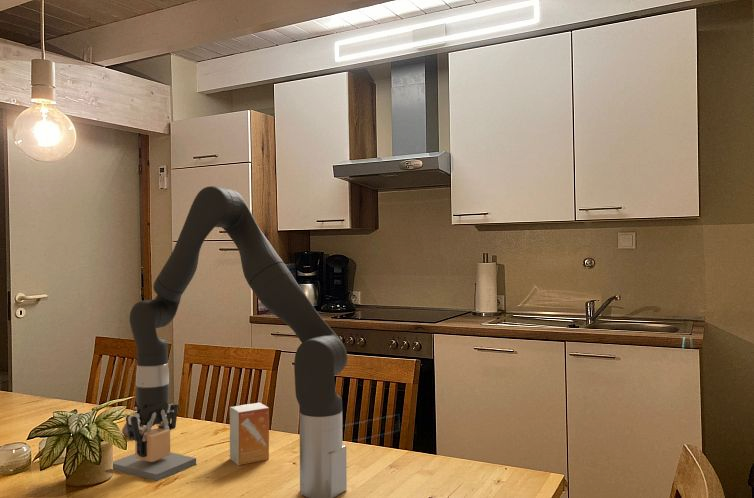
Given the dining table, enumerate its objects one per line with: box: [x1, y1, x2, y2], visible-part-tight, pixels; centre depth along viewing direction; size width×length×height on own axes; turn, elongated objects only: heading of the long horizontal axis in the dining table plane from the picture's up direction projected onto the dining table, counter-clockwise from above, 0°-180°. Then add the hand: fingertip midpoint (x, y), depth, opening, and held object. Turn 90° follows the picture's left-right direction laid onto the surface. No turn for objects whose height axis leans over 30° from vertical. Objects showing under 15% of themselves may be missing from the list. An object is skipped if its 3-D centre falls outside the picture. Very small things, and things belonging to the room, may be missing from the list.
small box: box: [229, 401, 270, 466], centre depth 152 cm, size 8×6×13 cm
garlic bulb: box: [121, 406, 146, 437], centre depth 172 cm, size 8×7×8 cm
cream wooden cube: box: [134, 426, 171, 462], centre depth 147 cm, size 6×6×6 cm
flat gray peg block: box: [112, 451, 197, 482], centre depth 147 cm, size 16×12×6 cm
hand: (153, 452), depth 147 cm, fingers closed on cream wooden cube, 5 cm apart
